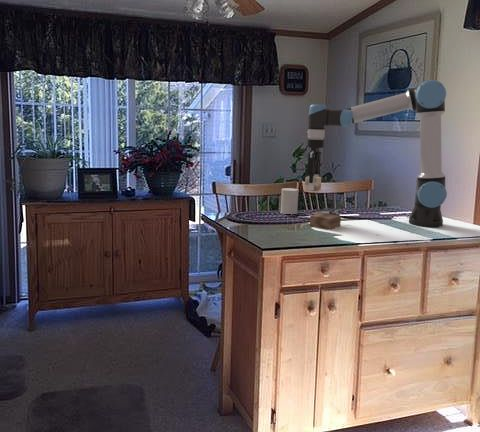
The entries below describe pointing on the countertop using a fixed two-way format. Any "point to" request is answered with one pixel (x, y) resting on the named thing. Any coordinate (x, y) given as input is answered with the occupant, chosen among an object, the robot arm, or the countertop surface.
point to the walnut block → (325, 221)
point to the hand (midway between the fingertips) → (312, 188)
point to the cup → (289, 201)
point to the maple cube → (316, 184)
